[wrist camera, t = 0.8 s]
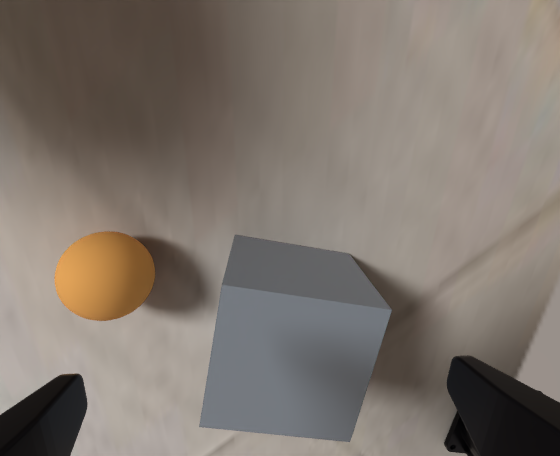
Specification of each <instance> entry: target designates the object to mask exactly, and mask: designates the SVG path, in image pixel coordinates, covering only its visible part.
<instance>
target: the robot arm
mask: <svg viewBox="0 0 560 456" xmlns="http://www.w3.org/2000/svg"><path fill="white" fill-rule="evenodd" d="M447 389H448V392H449V394H450V396H451V398H452V400H453V402H454V404H455V406H456V408H457V410H458V411H457V413H456V416H455V418H454V420H453V423H452V425H451V428H450V430H449V433H448V435H447V437H446V440H445V442H444V445H445V447H446V448H447V450H448V451H449V452H457V453H466V454H467V455H468V456H560V403H559V402H557V401H555V400H554V399H552V398H550V397H548V396H546V395H544V394H543V393H542V392H541V391H537V390H535V389H533V388H531V387H529V386H527V385H525V384H523V383H521V382H520V381H518V380H516V379H514V378H512V377H510V376H508V375H506V374H504V373H503V372H501V371H499V370H497V369H495V368H493V367H491V366H489V365H487V364H486V363H484V362H482V361H480V360H478V359H476V358H474V357H472V356H455V357H454V358H453V359H452V361H451V366H450V370H449V374H448V378H447ZM86 410H87V397H86V392H85V387H84V382H83V378H82V376H81V375H80V374H63V375H59V376H58V377H56V378H54V379H53V380H51V381H50V382H48V383H47V384H45V385H44V386H43V387H41V388H40V389H38V390H37V391H35V392H34V393H32V394H31V395H29V396H28V397H26V398H25V399H23V400H22V401H20V402H19V403H17V404H16V405H14V406H13V407H11V408H10V409H8V410H7V411H5V412H4V413H2V414H1V415H0V456H70V455H71V452H72V449H73V447H74V444H75V441H76V438H77V436H78V433H79V430H80V428H81V425H82V422H83V419H84V417H85V414H86Z"/></svg>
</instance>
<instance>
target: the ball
mask: <svg viewBox="0 0 560 456" xmlns="http://www.w3.org/2000/svg"><path fill="white" fill-rule="evenodd" d="M154 279H155V267H154V262H153V259H152V257H151V255H150V253H149V252H148V250H147V249H146V248H145V246H144V245H143V244H141V243H140V242H139V241H138V240H136V239H135V238H133V237H131V236H129V235H126V234H123V233H119V232H98V233H94V234H90V235H88V236H85V237H83V238H81V239H79V240H78V241H76V242H75V243H73V244H72V245H71V246H70V247H69V248H68V249H67V250H66V251H65V252H64V254H63V255H62V257H61V258H60V260H59V262H58V265H57V267H56V272H55V287H56V291H57V294H58V296H59V298H60V300H61V301H62V303H63V304H64V305H65V306H66V307H67V308H68V309H69V310H70V311H72V312H73V313H75V314H76V315H78V316H80V317H83V318H86V319H90V320H97V321H107V320H113V319H117V318H120V317H123V316H125V315H127V314H129V313H131V312H133V311H134V310H135V309H137V308H138V307H139V306H140V305H141V304H142V303H143V302H144V301H145V300H146V298H147V297H148V295H149V294H150V292H151V290H152V287H153V284H154Z"/></svg>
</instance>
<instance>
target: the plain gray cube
mask: <svg viewBox="0 0 560 456" xmlns="http://www.w3.org/2000/svg"><path fill="white" fill-rule="evenodd" d="M391 312H392V309H391V308H390V307H389V305H388V304H387V303H386V301H385V300H384V299H383V298H382V296H381V295H380V294H379V292H378V291H377V290H376V288H375V287H374V286H373V284H372V283H371V282H370V280H369V279H368V278H367V277H366V275H365V274H364V273H363V271H362V270H361V269H360V267H359V266H358V265H357V263H356V262H355V261H354V259H353V258H352V257H351V256H350V254H348V253H342V252H336V251H330V250H324V249H318V248H312V247H306V246H300V245H294V244H288V243H282V242H276V241H270V240H264V239H258V238H252V237H246V236H240V235H235V237H234V240H233V244H232V248H231V252H230V256H229V260H228V264H227V267H226V271H225V275H224V279H223V283H222V288H221V294H220V300H219V307H218V313H217V319H216V325H215V332H214V338H213V344H212V350H211V357H210V363H209V369H208V376H207V382H206V388H205V394H204V401H203V407H202V413H201V419H200V426H199V427H205V428H215V429H225V430H235V431H245V432H255V433H265V434H275V435H285V436H295V437H305V438H315V439H325V440H335V441H345V442H350V441H351V437H352V434H353V431H354V428H355V425H356V422H357V419H358V415H359V412H360V409H361V406H362V403H363V400H364V397H365V393H366V390H367V387H368V384H369V381H370V378H371V375H372V371H373V368H374V365H375V362H376V359H377V356H378V352H379V349H380V346H381V343H382V340H383V337H384V334H385V330H386V327H387V324H388V321H389V318H390V315H391Z"/></svg>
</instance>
